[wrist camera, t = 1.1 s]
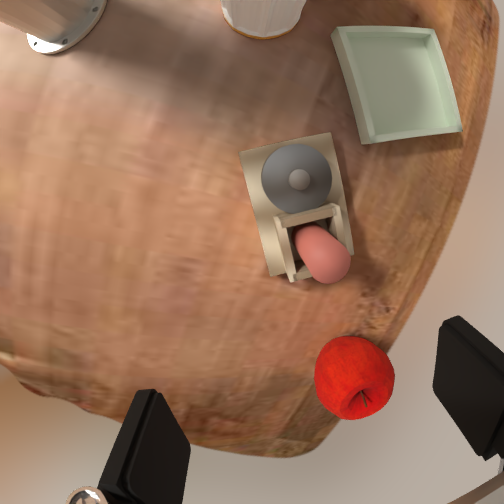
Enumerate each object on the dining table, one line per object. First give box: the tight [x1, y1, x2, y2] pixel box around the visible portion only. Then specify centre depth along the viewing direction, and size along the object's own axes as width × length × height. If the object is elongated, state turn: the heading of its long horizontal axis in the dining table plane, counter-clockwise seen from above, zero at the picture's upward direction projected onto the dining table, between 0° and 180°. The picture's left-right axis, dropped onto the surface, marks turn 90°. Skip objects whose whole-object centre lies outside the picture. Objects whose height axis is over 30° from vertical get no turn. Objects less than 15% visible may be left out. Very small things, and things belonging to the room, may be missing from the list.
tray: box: [330, 26, 463, 145], centre depth 29 cm, size 14×14×3 cm
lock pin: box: [291, 221, 351, 284], centre depth 29 cm, size 4×4×9 cm
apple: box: [314, 336, 395, 420], centre depth 34 cm, size 10×10×12 cm
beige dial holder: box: [238, 132, 354, 282], centre depth 32 cm, size 14×10×6 cm
